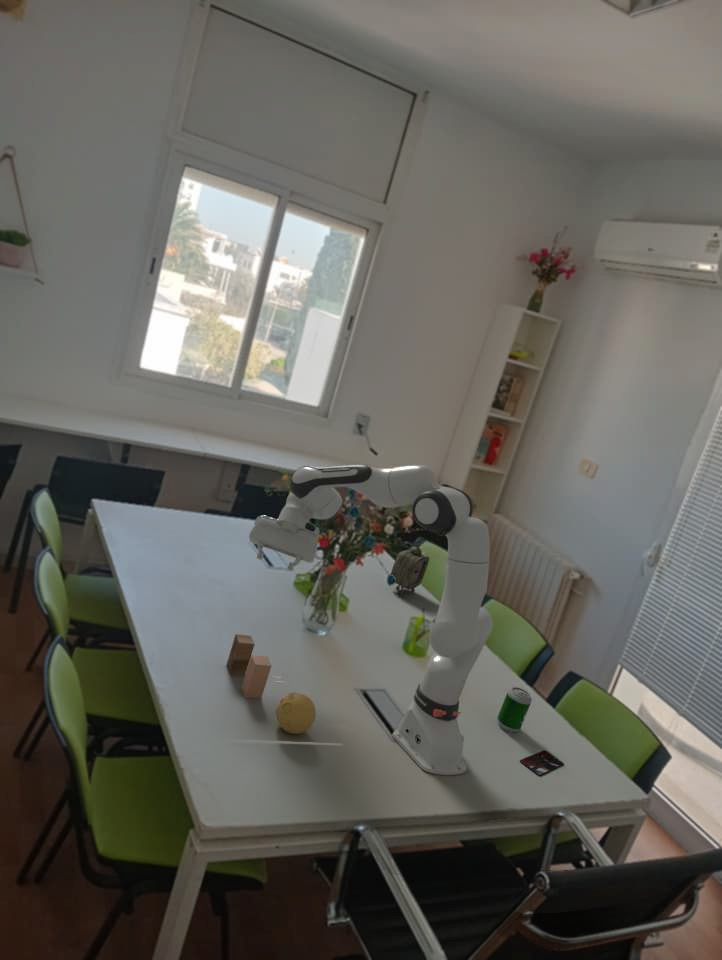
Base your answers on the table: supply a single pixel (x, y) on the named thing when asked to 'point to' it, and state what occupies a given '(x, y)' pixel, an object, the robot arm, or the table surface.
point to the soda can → (514, 709)
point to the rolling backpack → (410, 568)
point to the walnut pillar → (240, 655)
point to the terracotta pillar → (256, 677)
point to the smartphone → (541, 763)
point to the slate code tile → (278, 681)
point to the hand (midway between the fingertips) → (274, 563)
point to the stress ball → (296, 713)
